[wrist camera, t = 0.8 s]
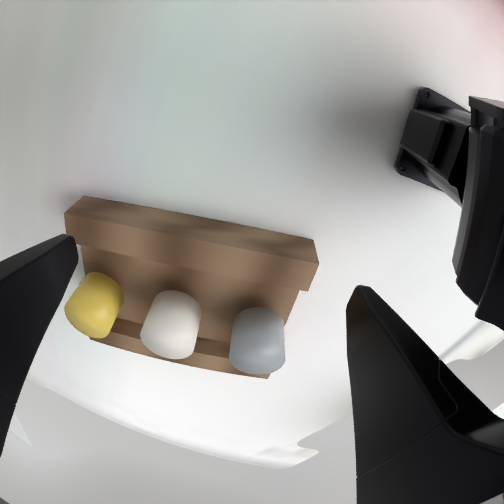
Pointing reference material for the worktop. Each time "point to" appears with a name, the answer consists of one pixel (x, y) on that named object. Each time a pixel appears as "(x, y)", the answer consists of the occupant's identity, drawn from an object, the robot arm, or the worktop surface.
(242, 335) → the grey rounded block
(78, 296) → the mustard key
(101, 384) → the worktop surface
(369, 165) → the worktop surface
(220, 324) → the key console
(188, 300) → the white key
